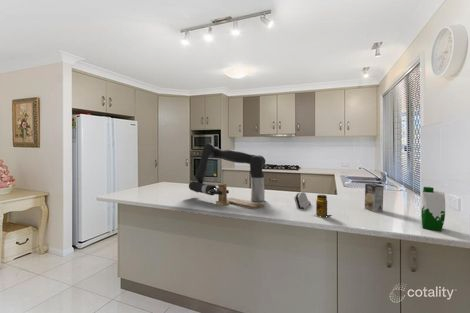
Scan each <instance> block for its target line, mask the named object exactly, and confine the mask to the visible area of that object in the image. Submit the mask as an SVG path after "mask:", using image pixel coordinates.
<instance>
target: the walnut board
mask: <svg viewBox="0 0 470 313" xmlns="http://www.w3.org/2000/svg"><path fill="white" fill-rule="evenodd" d="M227 201H229V205H230V204H231V205H234V206H239V207H243V208H247V209H252V210H256V209H259V208H262V207H264V203H259V202H257V201H252V200H251V201H250V200H245V199H240V198H237V197H227Z"/></svg>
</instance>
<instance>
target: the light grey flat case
mask: <svg viewBox="0 0 470 313" xmlns="http://www.w3.org/2000/svg"><path fill="white" fill-rule="evenodd" d="M293 198H294V202H295V206H296V209H300V208H303V209H304V210H305V208H306V207H307V206H308V205H309V204H310V205H311V204H312V203H311V201H310V200H309V199H308V196H307V194H306V193H305V192H304V191H301V192H298V193H296V194H295V195H294V197H293ZM310 205H309V206H310ZM309 206H308V207H309ZM308 207H307V208H308ZM307 208H306V209H307Z"/></svg>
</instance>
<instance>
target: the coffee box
mask: <svg viewBox="0 0 470 313" xmlns="http://www.w3.org/2000/svg"><path fill="white" fill-rule="evenodd" d="M364 185H365V186H364V187H365V189H364V209H365V210H368V211H369V212H370V211H371V212H373V213H383V211H384V210H383V209H384V189H385V188H384V187H385V186H384V185H380V184H376V183H365V184H364Z"/></svg>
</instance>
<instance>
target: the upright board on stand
mask: <svg viewBox="0 0 470 313" xmlns="http://www.w3.org/2000/svg"><path fill="white" fill-rule="evenodd" d="M217 185H218V187H217V188H218V191H221V192H222V195H218V194H217V195H218V196H217V197H218V199H217V201H215V205H218V206H222V207H224V206H228V205H230V203H229V201H227V198H228V196H227V195H228V194H227V190H228V188H227V184H226V183H218V184H217Z"/></svg>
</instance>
